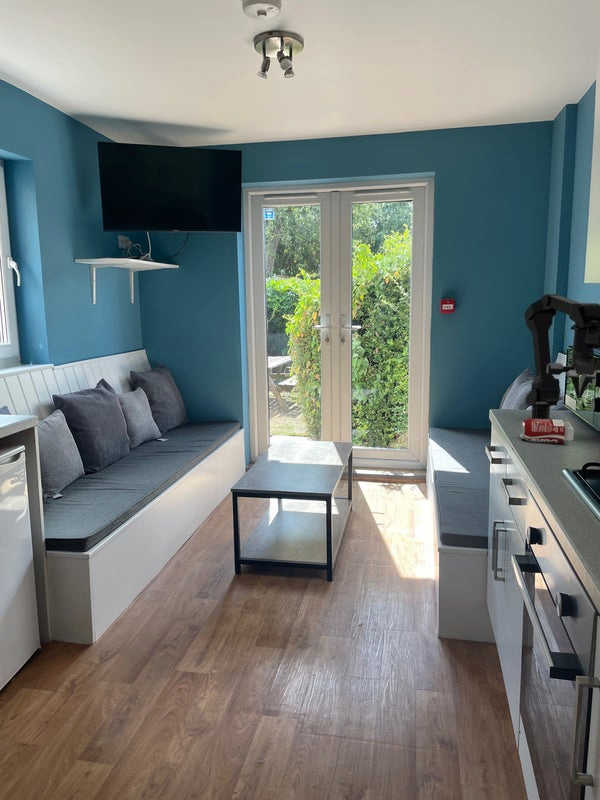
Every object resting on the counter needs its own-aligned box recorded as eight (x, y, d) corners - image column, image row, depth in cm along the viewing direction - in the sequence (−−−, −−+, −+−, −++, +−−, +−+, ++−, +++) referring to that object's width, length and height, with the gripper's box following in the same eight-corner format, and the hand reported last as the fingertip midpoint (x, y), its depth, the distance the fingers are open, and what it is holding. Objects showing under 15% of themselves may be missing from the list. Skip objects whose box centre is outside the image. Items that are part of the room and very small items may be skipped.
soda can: (565, 415, 168) (522, 413, 170) (569, 431, 163) (524, 430, 165) (561, 431, 172) (519, 429, 175) (565, 447, 167) (521, 446, 170)
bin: (526, 431, 182) (527, 420, 182) (568, 433, 179) (568, 422, 178) (529, 438, 174) (530, 426, 173) (573, 440, 171) (574, 429, 170)
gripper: (552, 348, 165) (547, 401, 168) (625, 350, 159) (619, 405, 163) (548, 344, 175) (544, 394, 179) (616, 346, 170) (611, 398, 173)
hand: (578, 398), depth 173 cm, fingers closed
